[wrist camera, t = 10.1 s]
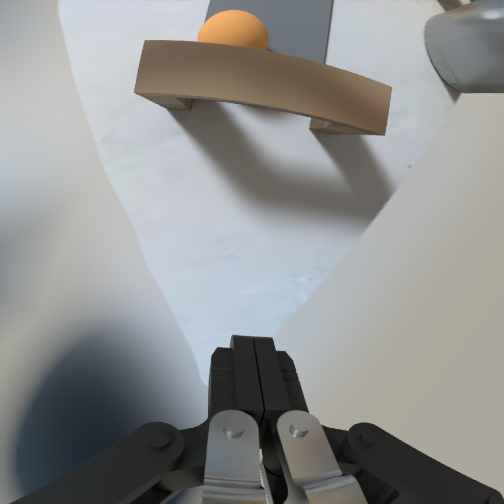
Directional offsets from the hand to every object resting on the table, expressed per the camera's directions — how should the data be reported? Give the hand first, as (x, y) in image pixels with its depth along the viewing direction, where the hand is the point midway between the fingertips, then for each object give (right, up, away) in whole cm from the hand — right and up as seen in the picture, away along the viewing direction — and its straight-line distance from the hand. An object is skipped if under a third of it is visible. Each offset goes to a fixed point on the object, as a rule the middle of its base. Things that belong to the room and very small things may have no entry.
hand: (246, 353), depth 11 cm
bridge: (0, +16, +10) cm, 19 cm away
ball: (-1, +19, +6) cm, 20 cm away
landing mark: (+2, +23, +7) cm, 24 cm away
